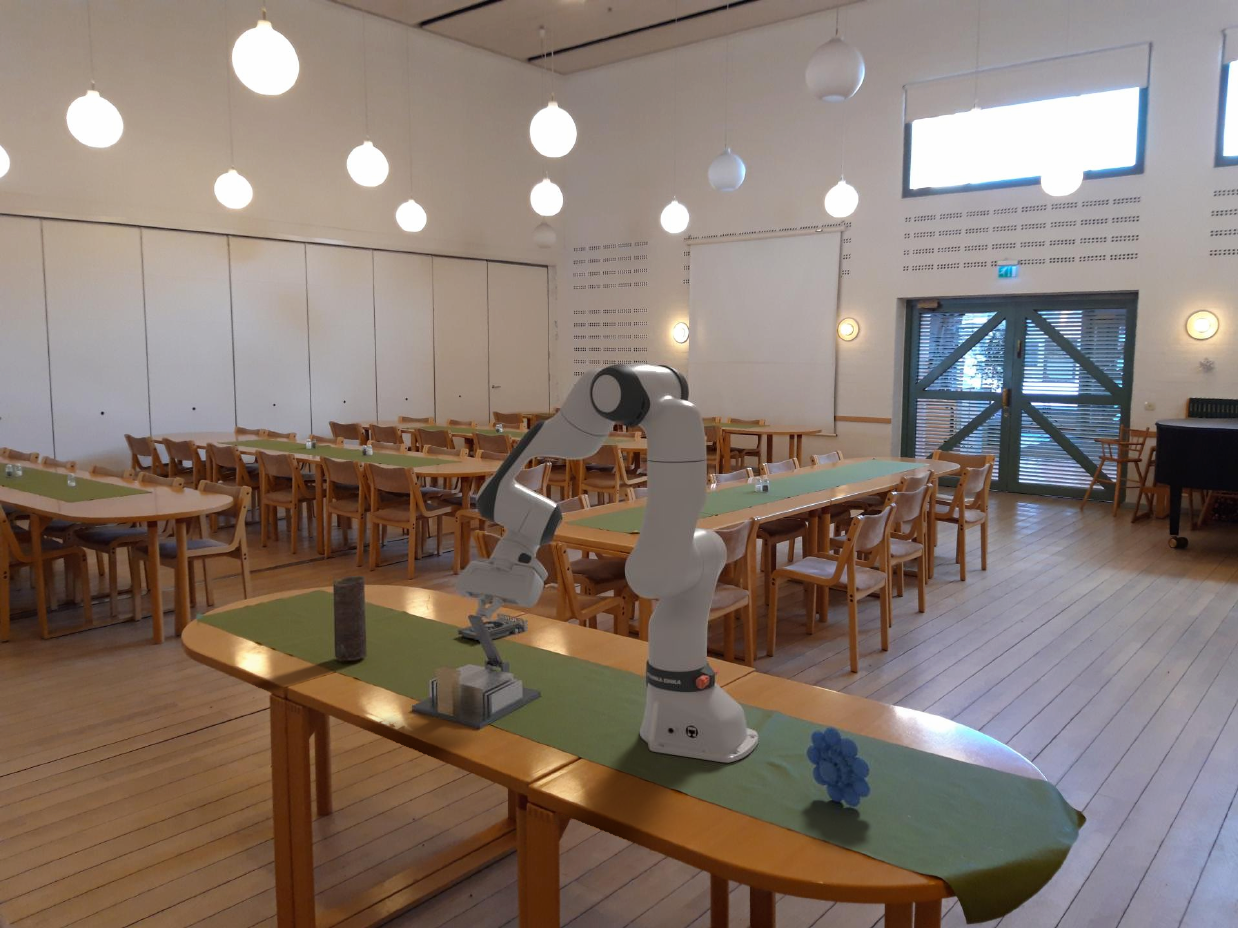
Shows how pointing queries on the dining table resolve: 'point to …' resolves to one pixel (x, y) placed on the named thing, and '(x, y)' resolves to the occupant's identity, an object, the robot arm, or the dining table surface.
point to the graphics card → (498, 627)
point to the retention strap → (485, 640)
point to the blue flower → (838, 766)
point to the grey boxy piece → (474, 694)
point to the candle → (349, 618)
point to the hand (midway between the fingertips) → (482, 616)
